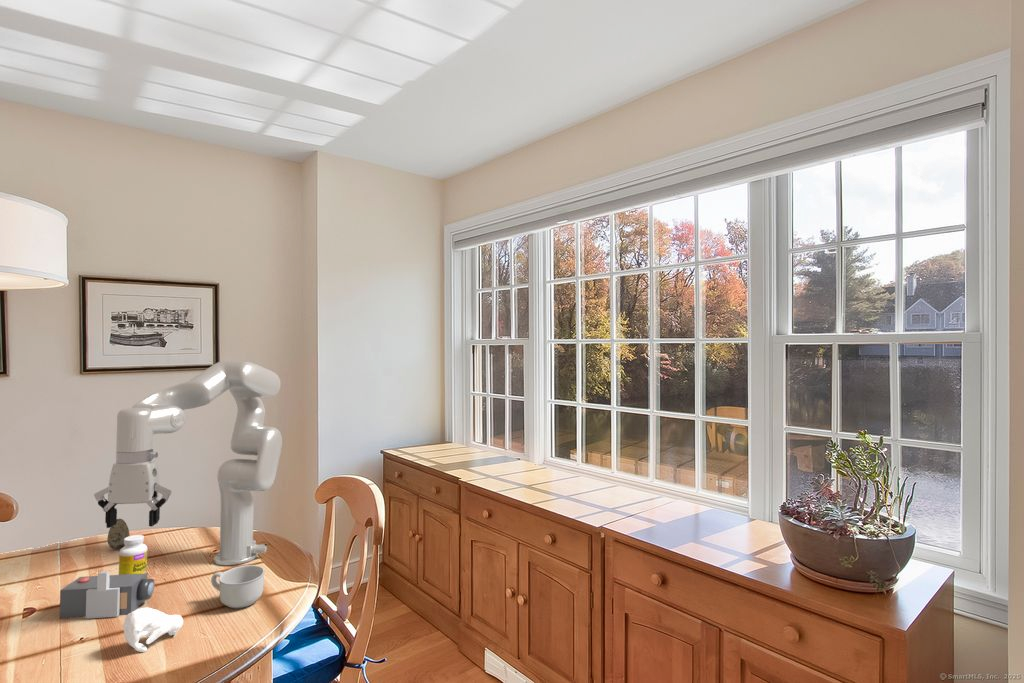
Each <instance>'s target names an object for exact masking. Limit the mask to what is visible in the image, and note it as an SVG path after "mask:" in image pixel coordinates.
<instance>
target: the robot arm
mask: <svg viewBox="0 0 1024 683" xmlns="http://www.w3.org/2000/svg"><path fill="white" fill-rule="evenodd" d="M281 385H282V382H281V379H280V376H279V375H278V374H277V373H276V372H274V371H273V370H270V369H268V368H266V367H264V366H261V365H259V364H258V363H257V364H256V363H254V362H251V361H247V360H245V361H244V360H221V361H218V362H216V363H214V364H213V365H211V366H210V367H207V368H206V369H205V370H203V371H202V372H200V373H199V374H197V375H196V376H194V377H192V378H191V379H189V380H187V381H184V382H181V383H177V384H175V385H172V386H169V387H167V388H164V389H161V390H158V391H155V392H153V393H152V394H149V395H147V396H145V397H144V398H143V399H141V400H139V401H138V402H136V403H135V404H133V406H132V407H130V408H129V407H128V408H123V409H120V410H119V411H118V413H117V417H116V444H115V445H116V447H115V450H116V451H115V452H116V453H115V462H114V463H113V464H112V467H111V471H110V475H109V482H108V487H106V488H103V489H100V490H99V491H97V492H95V493H94V494H93V496H94V498H95V500H96V501H97V504H98V506H99V507H101V509H102V511H103V512H105V520H104V521H105V522H104V523H105V526H106V529H110V527H112V526H114V525H115V524H116V523H117V519H118V509H117V508H116V507H117V505H127V504H130V505H133V504H137V505H138V504H147V506H148V507H149V508H150V510H149V512H148V527H154V526H155V525H157V524H158V522H159V521H160V517H161V516H160V514H161V513H160V511H161V508H162V506H163V505H165V503H166V502H168V499H169V498H170V496H171V495H172V490H171V489H168V488H166V487H165V486H163V485H160V477H159V470H158V469H159V468H158V465H157V461H156V460H154V459H156V458H158V455H159V453H158V452H157V451H156V452H155V451H154V449H153V440H154V439H153V438H154V436H153V435H157V434H173V433H176V432H178V431H179V430H181V429H182V428H183V426H184V425H185V423H186V421H187V415H186V412H185V411H184V410H191V409H195V408H200V407H204V406H206V405H209V404H210V403H211V402H213V401H215V399H217V398H218V397H220V396H221V395H222V394H224V393H225V392H226V391H229V392H230V394H231V396H232V397H233V398H234V401H235V404H236V409H237V412H236V417H235V418H236V419H235V423H234V427H233V432H232V436H231V440H230V449H231V451H232V452H233V453H234V454H237V455H241V456H243V455H244V456H254V457H255V456H256V458H257V459H247V458H246V459H245V458H231V459H228V460H225V461H224V462H223V463H222V464H221V465H220V466H219V467H218V470H217V483H218V487H219V494H220V513H219V514H220V517H219V518H220V521H219V553H217V554H216V555H214V557H213V563H215V564H217V565H219V566H236V565H241V564H245V563H248V562H251V561H253V560H255V559H256V558H257V557H258V556H259V553H267V551H268V550H267V549H268V547H267V545H265V544H257V542H256V539H255V540H254V513H255V512H254V510H255V506H254V504H255V502H254V497H253V494H252V492H251V491H253V492H264V491H267V490H269V489H270V488H271V487H272V486H273V484H274V483H275V479H276V477H277V472H278V468H279V462H280V458H281V454H282V448H283V436H282V432H281V431H280V430H279V429H278V428H276V427H273V426H266V425H264V424H265V419H266V409H265V408H266V407H265V405H264V402H263V401H262V399H261V398H267V399H268V398H273V397H274V396H276V395H277V394H278V393H279V392H280V391H281ZM106 494H107V499H106V498H105V495H106ZM160 494H161V495H162V496H161V498H160V500H159V499H158V497H159V496H160Z"/></svg>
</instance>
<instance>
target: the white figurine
mask: <svg viewBox="0 0 1024 683" xmlns="http://www.w3.org/2000/svg"><path fill="white" fill-rule="evenodd" d="M183 625H184V619H183V617H182V615H180V614H166V613H165V612H163V611H160V610H158V609H155V608H151V607H142V608H141V607H139V608H137V609H136V610H135V611H133V612H131V613H129V614H126V616H125V618H124V622H123V624H122V628H123V632H124V633H123V634H124V638H125V641H126V643H127V644H129V645H128V646H130V647H132V648H134V650H135V651H137V652H140V653H146V652H147V651H148V648H147V646H146V645H150V644H152V643H153V642H155V641H156V640H157V639H158V638H159V637H161V636H163V635H165V634H166V633H168V636H169V637H171V636H173V637H175V636H176V635H177V633H178V632H179V630H180V629H181V628H182V627H183ZM143 637H147V639H146V641H145V644H146V645H145V644H143V643H140V642H139V641H140V639H142V638H143Z"/></svg>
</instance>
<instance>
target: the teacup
mask: <svg viewBox="0 0 1024 683" xmlns="http://www.w3.org/2000/svg"><path fill="white" fill-rule="evenodd" d="M217 577H218V580H217ZM218 581H219V582H218ZM210 582H211V585H212V587H213V588H214V589H215V590H217V591H218V592H219V598H220V601H221V603H222V604H223V605H225V606H227V607H228V608H230V609H244V608H246V607H249V606H251V605H253V604H254V603H256V601H257V600H259V599H260V598H261V596H262V594H263V592H264V584H265V569H264V567H263V566H261V565H257V564H255V565H254V564H246V565H240V566H236V567H233V568H229V569H228V570H225V571H224V572H223V571H217V572H215V573H214V574H213V575H212V576H211V580H210Z"/></svg>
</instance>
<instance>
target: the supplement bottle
mask: <svg viewBox="0 0 1024 683" xmlns="http://www.w3.org/2000/svg"><path fill="white" fill-rule="evenodd" d="M144 541H145V536H144V535H143V534H133V535H130V536H129V537H126V538H125V539H124V544H125V546H124V547H123V548H121V549H119V556H118V557H119V558H118V575H124V574H143V573H147V572H148V550H149V549H148V546H147V545H146V544H145V543H144ZM147 574H148V573H147Z"/></svg>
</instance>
